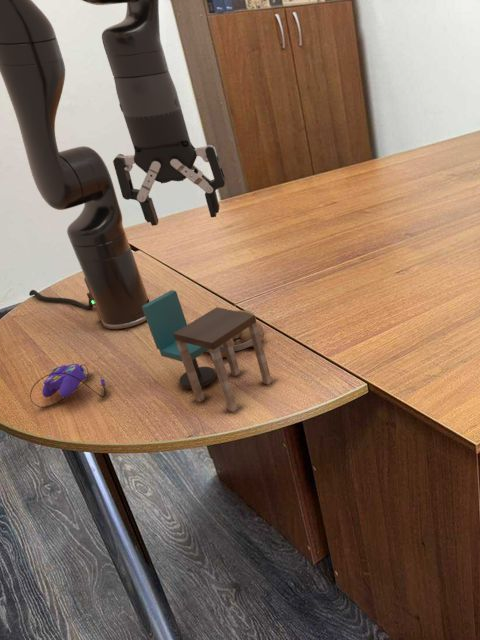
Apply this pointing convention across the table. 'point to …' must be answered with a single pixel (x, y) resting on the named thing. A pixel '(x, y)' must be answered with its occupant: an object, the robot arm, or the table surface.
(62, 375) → the game controller
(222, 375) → the desk
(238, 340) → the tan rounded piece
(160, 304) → the chair
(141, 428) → the table surface
